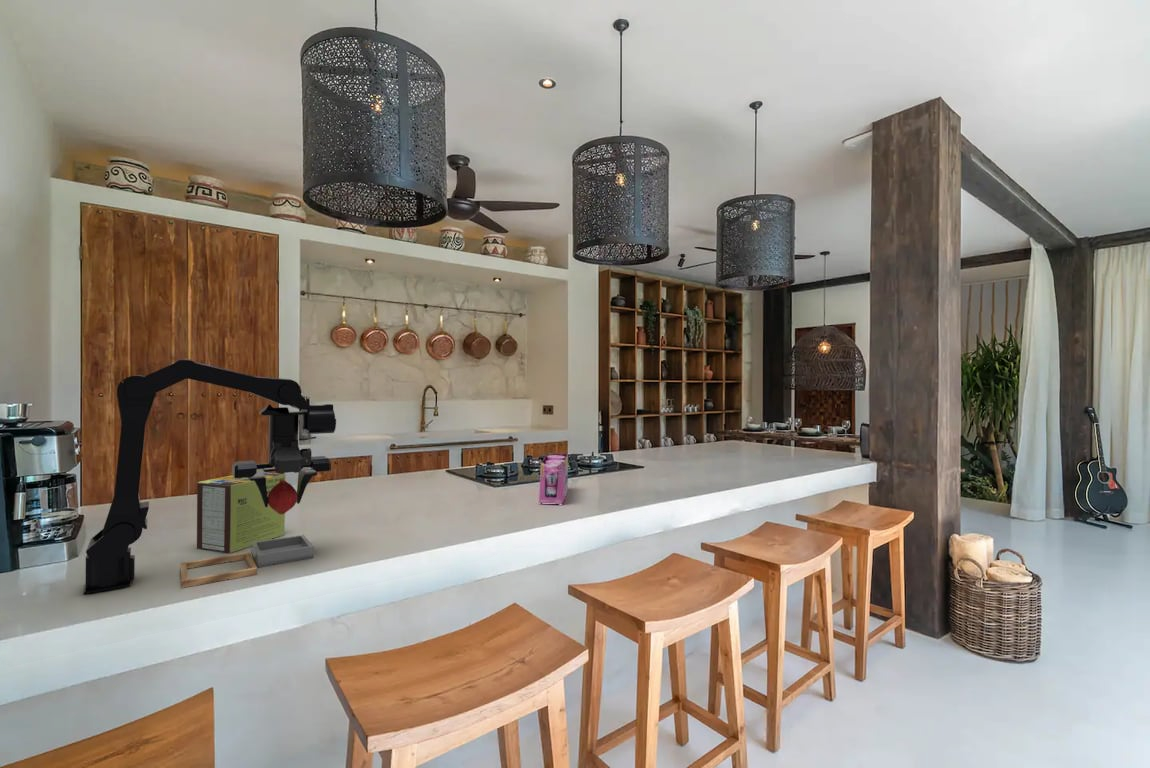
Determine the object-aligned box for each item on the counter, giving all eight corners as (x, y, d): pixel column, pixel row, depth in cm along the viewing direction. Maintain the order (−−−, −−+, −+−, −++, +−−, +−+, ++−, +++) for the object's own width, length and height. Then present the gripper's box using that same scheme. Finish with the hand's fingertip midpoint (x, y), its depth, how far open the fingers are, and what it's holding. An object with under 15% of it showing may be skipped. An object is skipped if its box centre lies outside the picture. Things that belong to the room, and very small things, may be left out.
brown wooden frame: (181, 588, 99) (181, 581, 99) (180, 568, 108) (180, 562, 108) (257, 574, 106) (257, 568, 106) (249, 557, 116) (249, 551, 116)
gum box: (562, 506, 167) (563, 464, 167) (538, 506, 168) (538, 463, 168) (567, 490, 191) (568, 453, 191) (546, 490, 192) (547, 453, 192)
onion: (301, 511, 120) (302, 476, 120) (288, 518, 114) (289, 481, 114) (275, 510, 120) (276, 475, 120) (261, 517, 114) (262, 480, 114)
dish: (257, 567, 110) (257, 555, 110) (251, 553, 118) (251, 542, 118) (313, 557, 116) (313, 546, 116) (303, 545, 125) (303, 534, 125)
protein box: (285, 534, 133) (286, 473, 132) (229, 554, 118) (230, 485, 118) (253, 530, 136) (254, 470, 135) (194, 548, 121) (195, 481, 121)
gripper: (238, 441, 105) (236, 519, 105) (337, 436, 116) (336, 507, 116) (232, 435, 114) (231, 507, 114) (325, 432, 125) (324, 497, 125)
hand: (282, 505), depth 117 cm, fingers closed on onion, 6 cm apart
